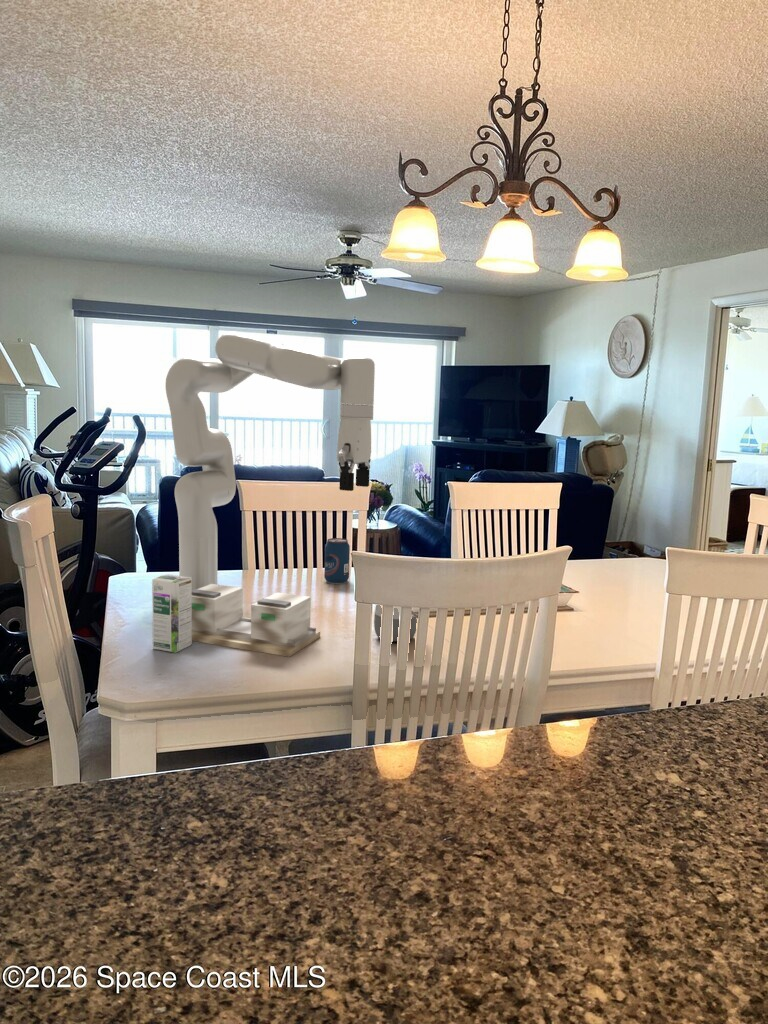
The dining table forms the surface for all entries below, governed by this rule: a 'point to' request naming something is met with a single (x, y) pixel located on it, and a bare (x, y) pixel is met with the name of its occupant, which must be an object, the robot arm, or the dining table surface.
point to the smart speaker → (395, 623)
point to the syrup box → (172, 612)
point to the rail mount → (252, 620)
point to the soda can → (337, 561)
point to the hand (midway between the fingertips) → (354, 488)
